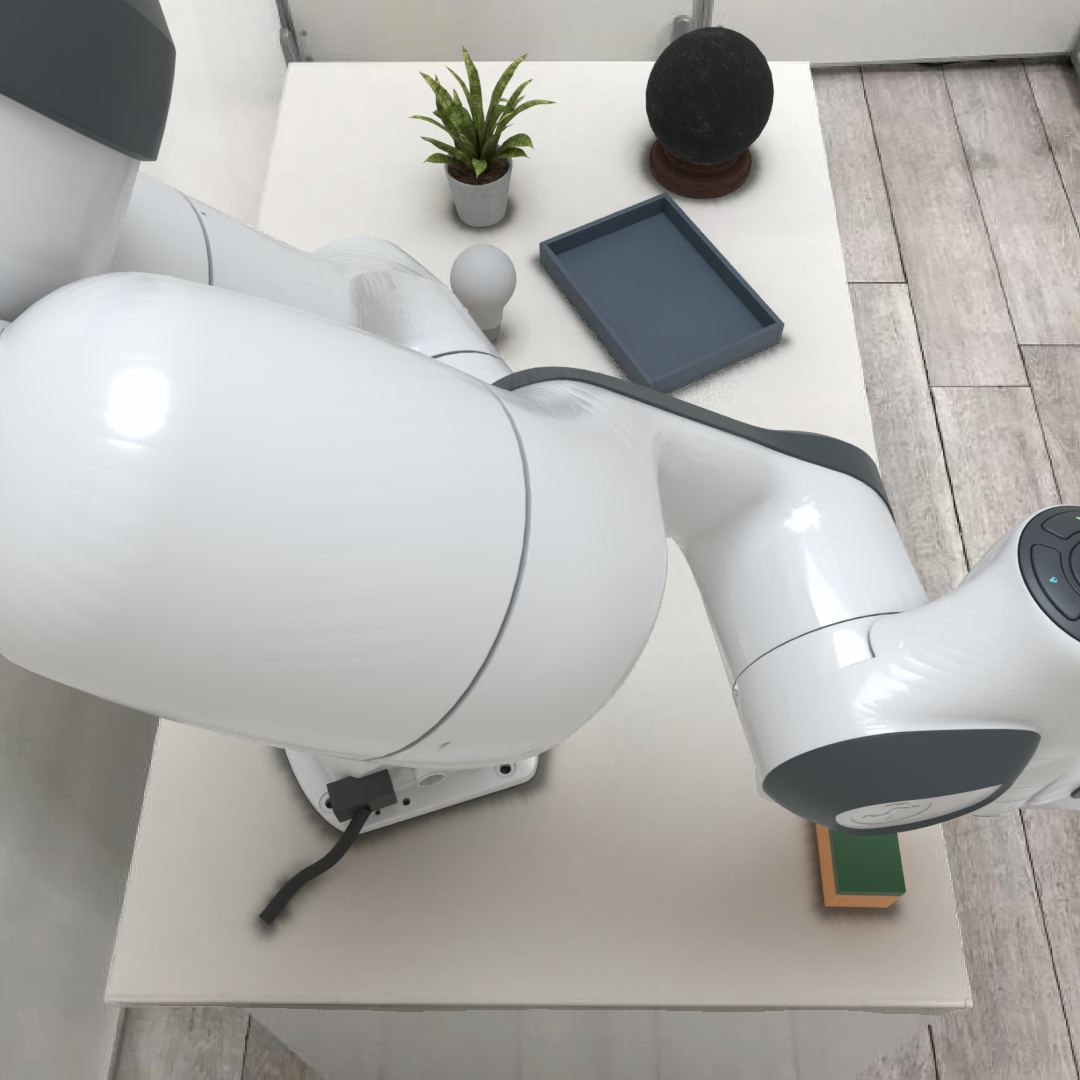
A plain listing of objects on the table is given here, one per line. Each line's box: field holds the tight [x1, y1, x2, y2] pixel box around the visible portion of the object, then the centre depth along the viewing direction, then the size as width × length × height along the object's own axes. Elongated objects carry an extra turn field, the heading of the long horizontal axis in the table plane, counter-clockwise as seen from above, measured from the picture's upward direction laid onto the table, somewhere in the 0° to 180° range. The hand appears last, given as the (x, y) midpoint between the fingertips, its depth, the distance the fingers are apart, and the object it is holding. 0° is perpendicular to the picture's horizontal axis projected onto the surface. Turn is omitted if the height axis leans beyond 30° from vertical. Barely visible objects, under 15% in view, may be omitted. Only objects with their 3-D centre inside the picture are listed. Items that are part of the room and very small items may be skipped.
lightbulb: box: [449, 243, 517, 342], centre depth 100 cm, size 6×6×11 cm
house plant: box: [407, 46, 557, 228], centre depth 107 cm, size 14×14×16 cm
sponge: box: [815, 823, 907, 909], centre depth 76 cm, size 7×4×5 cm, turn 179°
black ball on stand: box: [645, 26, 775, 200], centre depth 111 cm, size 13×13×15 cm
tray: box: [538, 191, 785, 395], centre depth 106 cm, size 15×21×3 cm
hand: (904, 802), depth 67 cm, fingers open, 8 cm apart
